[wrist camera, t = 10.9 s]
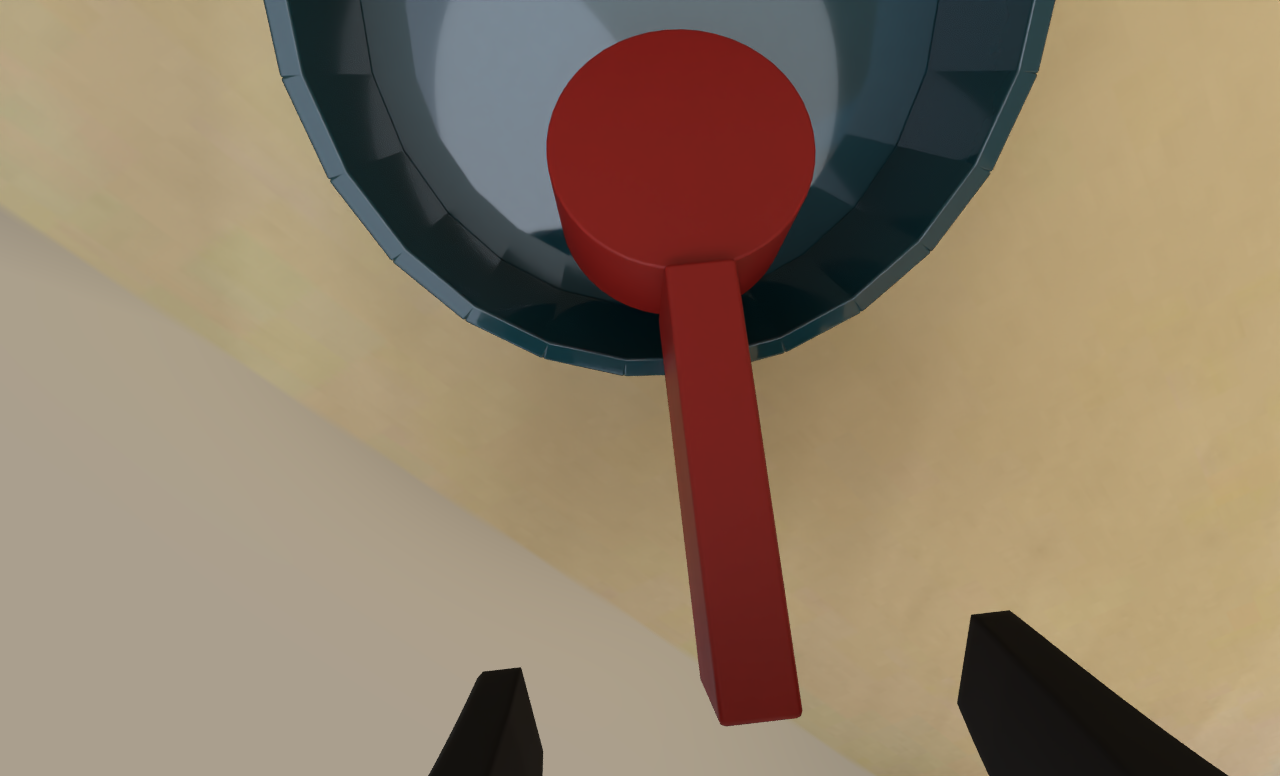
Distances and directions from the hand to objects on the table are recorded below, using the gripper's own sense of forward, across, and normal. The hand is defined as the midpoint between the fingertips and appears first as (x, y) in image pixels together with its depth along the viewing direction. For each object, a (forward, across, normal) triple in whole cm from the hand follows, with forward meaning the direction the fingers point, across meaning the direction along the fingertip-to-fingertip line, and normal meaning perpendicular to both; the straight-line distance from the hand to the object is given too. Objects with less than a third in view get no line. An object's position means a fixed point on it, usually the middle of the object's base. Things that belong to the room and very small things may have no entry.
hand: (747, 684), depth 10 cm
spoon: (+5, 0, -4) cm, 6 cm away
